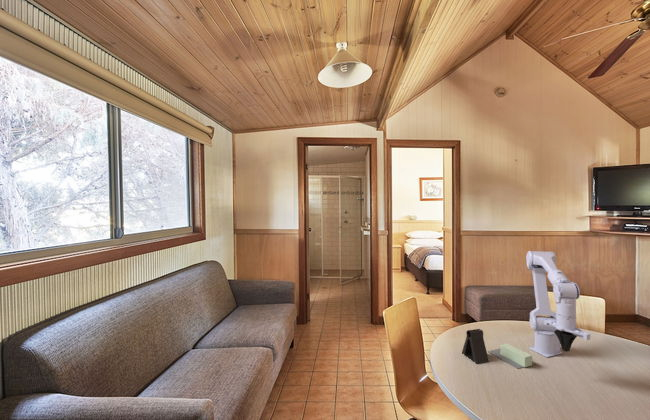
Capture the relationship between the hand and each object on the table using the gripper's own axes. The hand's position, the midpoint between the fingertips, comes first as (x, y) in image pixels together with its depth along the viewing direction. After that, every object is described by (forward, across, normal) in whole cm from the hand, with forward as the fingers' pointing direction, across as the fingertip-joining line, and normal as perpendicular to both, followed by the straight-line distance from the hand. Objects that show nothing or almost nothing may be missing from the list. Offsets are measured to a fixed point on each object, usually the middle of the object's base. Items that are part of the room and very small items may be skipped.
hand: (565, 350), depth 110 cm
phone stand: (+11, -23, -20) cm, 32 cm away
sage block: (+8, -10, -6) cm, 14 cm away
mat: (+10, -18, -6) cm, 21 cm away
